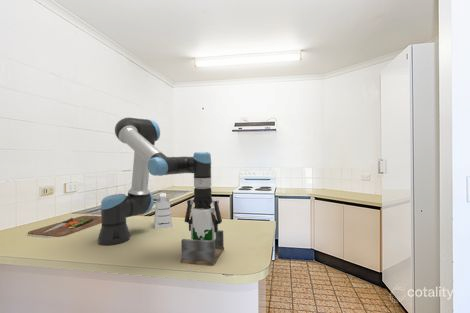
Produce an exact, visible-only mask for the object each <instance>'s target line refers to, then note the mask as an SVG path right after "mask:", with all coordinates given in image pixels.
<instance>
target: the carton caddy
mask: <svg viewBox="0 0 470 313" xmlns="http://www.w3.org/2000/svg"><path fill="white" fill-rule="evenodd" d="M180 242H181V245H180V246H181V260H180V264H191V265H200V266H201V265H203V266H212V265H213V266H215V264H216V263H217V262H218V260H219V258H220V256H222V253H224V252H223V251H224V250H225V247H224V244H225V243H224V230H219V229H218V231H217V232H216V239H215V240H214V241H209V240H193V239H191V238H190V239H189V238H182V239H181V241H180ZM213 266H212V267H213Z"/></svg>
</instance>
